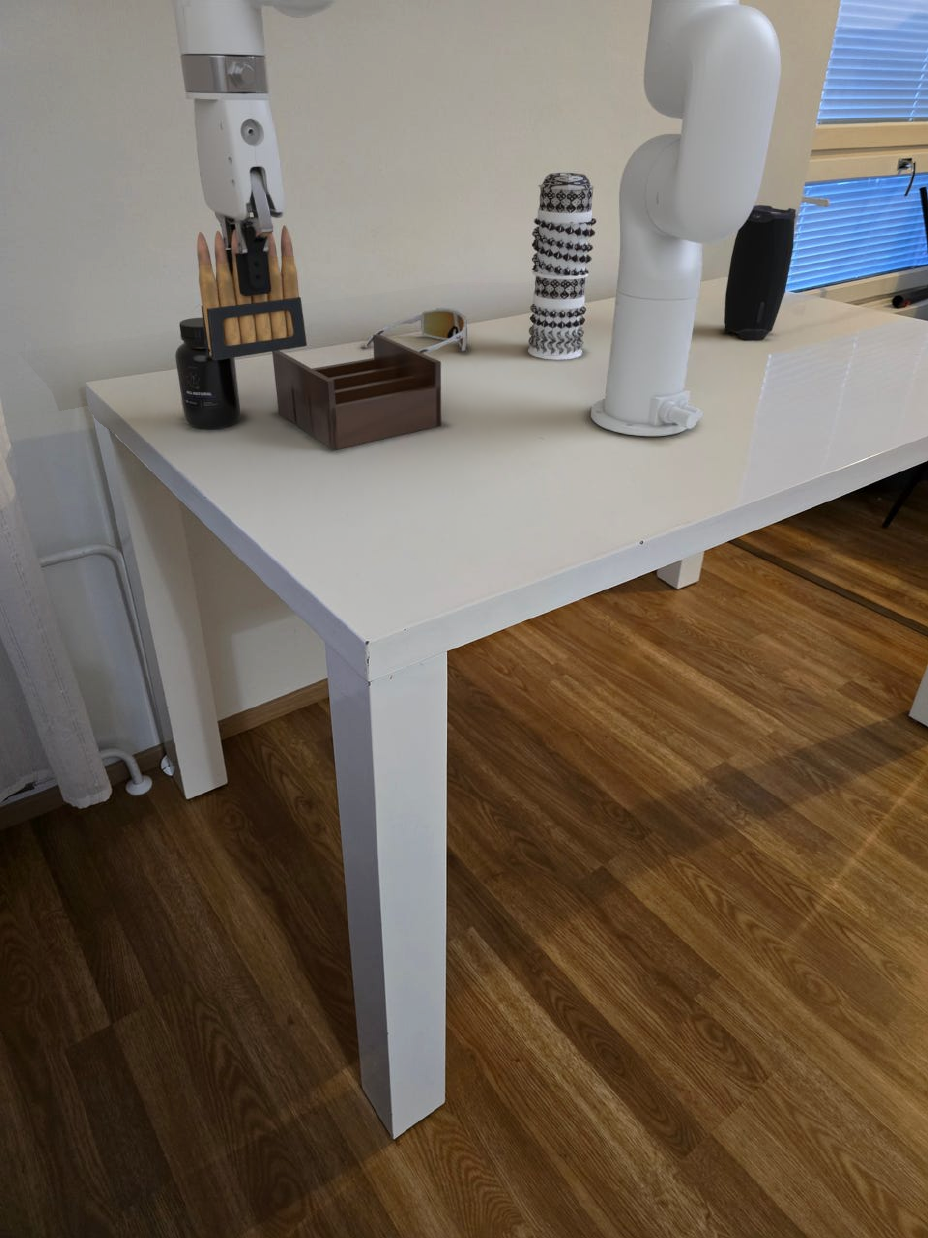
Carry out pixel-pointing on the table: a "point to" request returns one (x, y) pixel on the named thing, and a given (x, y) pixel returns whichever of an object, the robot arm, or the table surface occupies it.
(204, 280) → the ammunition clip
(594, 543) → the table surface
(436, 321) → the sunglasses
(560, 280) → the decorative candle
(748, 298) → the portable speaker
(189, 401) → the supplement bottle
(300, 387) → the rack
